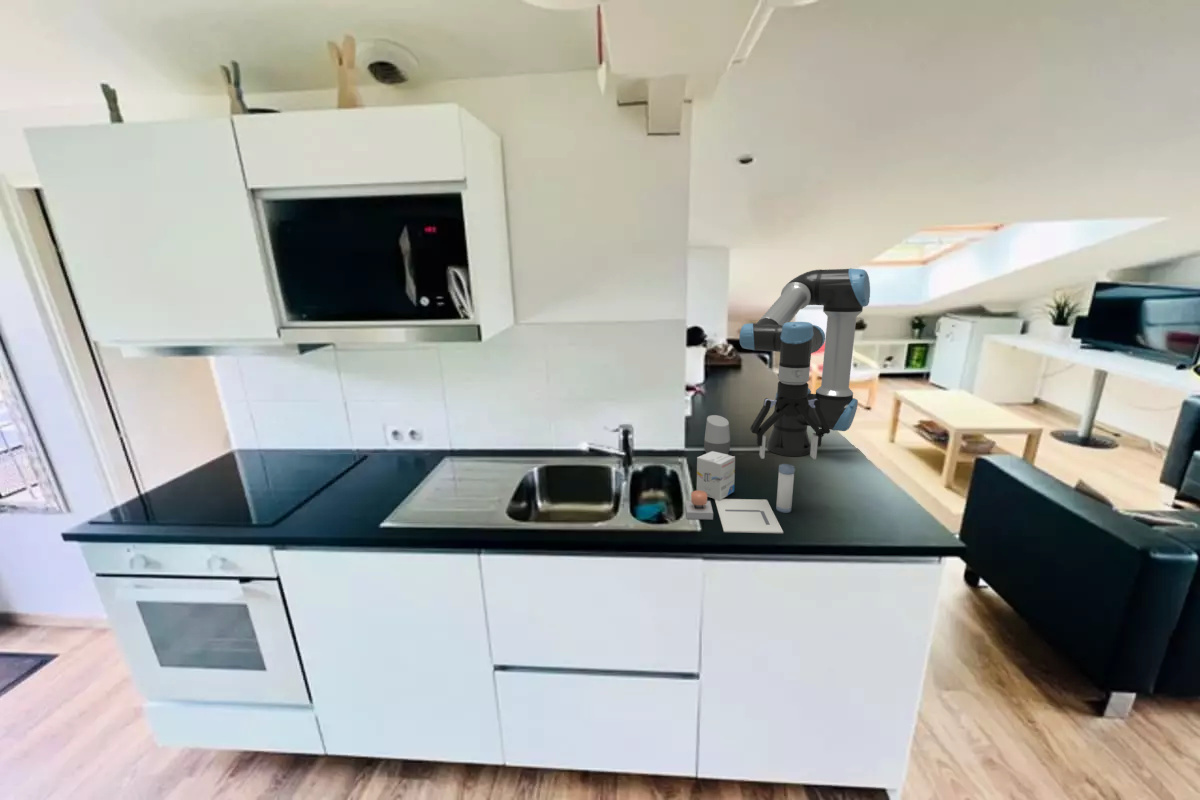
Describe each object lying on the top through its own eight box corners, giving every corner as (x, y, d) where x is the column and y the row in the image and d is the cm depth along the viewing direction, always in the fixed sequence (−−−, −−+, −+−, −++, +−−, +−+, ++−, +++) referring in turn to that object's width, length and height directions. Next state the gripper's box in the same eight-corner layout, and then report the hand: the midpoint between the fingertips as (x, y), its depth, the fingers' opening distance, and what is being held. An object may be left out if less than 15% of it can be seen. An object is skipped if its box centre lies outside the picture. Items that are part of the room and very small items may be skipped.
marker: (774, 505, 139) (777, 463, 136) (789, 506, 139) (792, 463, 136) (778, 512, 135) (781, 469, 132) (793, 513, 135) (796, 469, 132)
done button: (690, 504, 139) (690, 490, 137) (705, 504, 138) (706, 490, 137) (691, 511, 134) (691, 497, 133) (707, 511, 134) (708, 497, 133)
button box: (685, 506, 140) (685, 500, 140) (709, 507, 140) (710, 500, 139) (687, 518, 134) (687, 512, 133) (712, 519, 133) (713, 512, 132)
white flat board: (714, 500, 144) (714, 498, 144) (766, 500, 142) (766, 499, 142) (723, 532, 127) (724, 530, 126) (783, 533, 125) (783, 531, 125)
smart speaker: (718, 460, 172) (720, 423, 169) (698, 453, 179) (699, 417, 176) (735, 454, 178) (736, 417, 174) (714, 447, 185) (716, 412, 181)
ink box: (711, 484, 154) (712, 449, 151) (734, 492, 148) (736, 455, 145) (695, 493, 148) (696, 456, 145) (719, 501, 142) (720, 463, 139)
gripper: (747, 385, 125) (743, 461, 130) (848, 384, 123) (839, 462, 128) (742, 378, 132) (738, 451, 138) (837, 378, 130) (829, 452, 135)
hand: (787, 457), depth 133 cm, fingers open, 13 cm apart
